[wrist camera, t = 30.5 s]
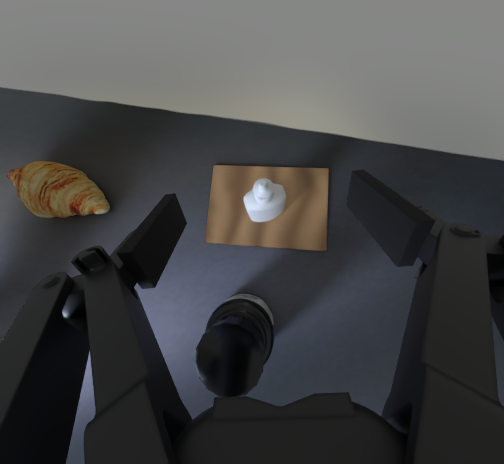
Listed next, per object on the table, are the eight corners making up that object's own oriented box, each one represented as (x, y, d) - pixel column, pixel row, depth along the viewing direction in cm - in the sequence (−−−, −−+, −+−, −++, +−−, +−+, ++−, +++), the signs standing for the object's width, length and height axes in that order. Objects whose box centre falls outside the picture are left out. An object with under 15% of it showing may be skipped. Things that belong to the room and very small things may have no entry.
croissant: (134, 202, 39) (114, 170, 33) (96, 241, 34) (63, 211, 27) (49, 174, 42) (15, 139, 35) (1, 206, 36) (-50, 171, 30)
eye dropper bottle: (252, 196, 33) (242, 159, 21) (285, 202, 32) (293, 168, 20) (247, 220, 32) (232, 197, 21) (279, 227, 32) (284, 207, 20)
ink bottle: (280, 298, 30) (285, 322, 19) (271, 358, 29) (271, 423, 17) (220, 287, 32) (190, 303, 20) (210, 344, 30) (172, 396, 19)
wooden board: (205, 242, 33) (204, 242, 33) (214, 166, 35) (213, 165, 35) (325, 251, 31) (326, 251, 30) (328, 169, 33) (328, 168, 32)
